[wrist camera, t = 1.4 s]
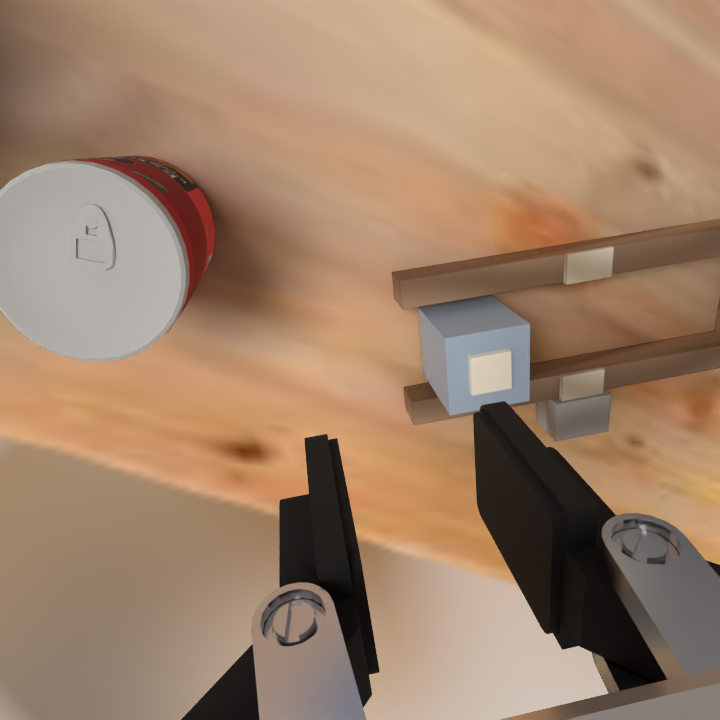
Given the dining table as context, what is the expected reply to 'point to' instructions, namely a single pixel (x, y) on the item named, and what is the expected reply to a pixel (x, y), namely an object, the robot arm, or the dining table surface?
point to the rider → (475, 353)
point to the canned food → (101, 253)
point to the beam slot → (583, 372)
